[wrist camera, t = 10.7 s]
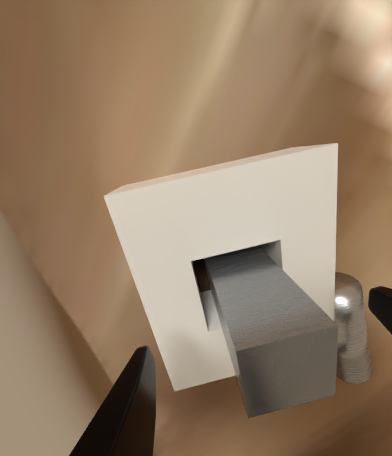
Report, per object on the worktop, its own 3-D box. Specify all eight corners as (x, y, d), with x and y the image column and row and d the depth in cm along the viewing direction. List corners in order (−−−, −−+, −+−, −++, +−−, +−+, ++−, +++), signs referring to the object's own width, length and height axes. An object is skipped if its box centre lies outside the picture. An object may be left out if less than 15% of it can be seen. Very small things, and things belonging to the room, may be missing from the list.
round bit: (381, 364, 16) (357, 393, 15) (339, 339, 18) (318, 362, 17) (372, 283, 13) (343, 310, 12) (325, 267, 16) (299, 289, 15)
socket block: (300, 310, 16) (333, 349, 13) (174, 342, 16) (174, 391, 12) (292, 147, 12) (337, 143, 9) (123, 185, 12) (103, 196, 8)
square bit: (249, 271, 14) (335, 394, 7) (208, 281, 14) (248, 418, 7) (244, 231, 13) (338, 325, 6) (199, 242, 13) (235, 351, 6)
